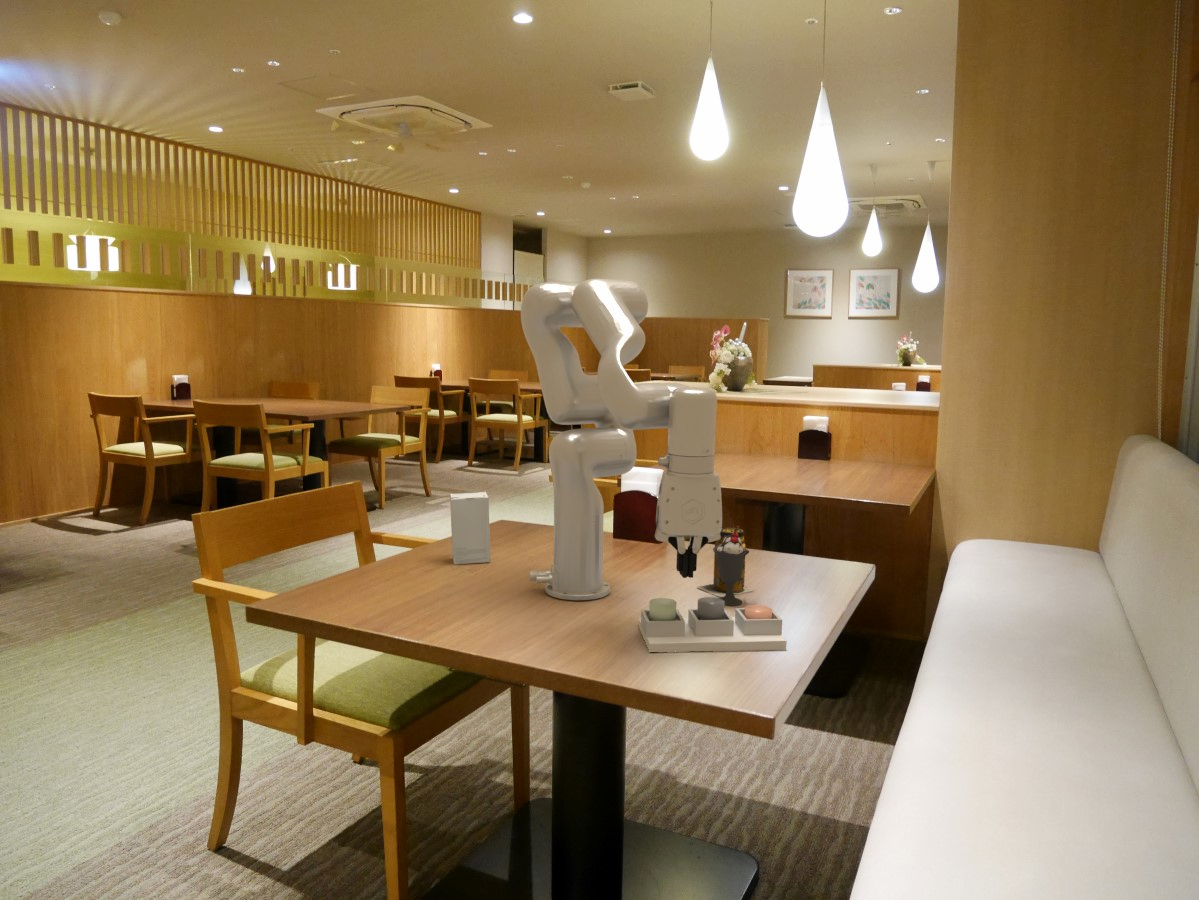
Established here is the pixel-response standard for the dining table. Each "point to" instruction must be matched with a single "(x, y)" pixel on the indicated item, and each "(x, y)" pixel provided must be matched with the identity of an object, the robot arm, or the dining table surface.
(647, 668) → the dining table surface
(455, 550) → the skincare box
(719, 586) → the condiment
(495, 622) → the dining table surface
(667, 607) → the sage button
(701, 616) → the charcoal button
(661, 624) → the panel
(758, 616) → the terracotta button
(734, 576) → the sundae
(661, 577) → the dining table surface
